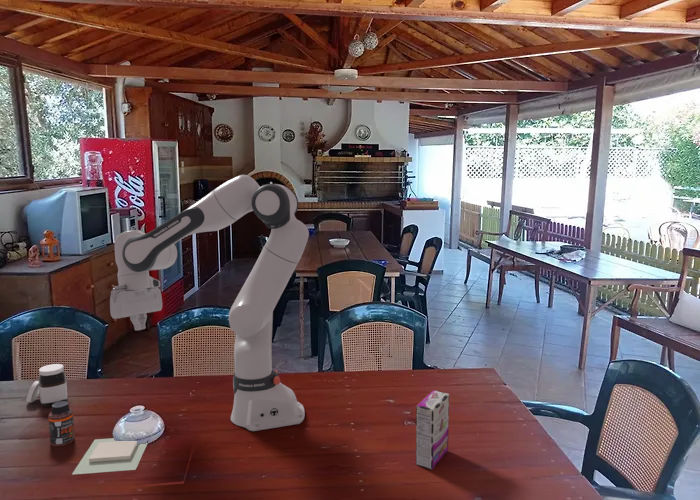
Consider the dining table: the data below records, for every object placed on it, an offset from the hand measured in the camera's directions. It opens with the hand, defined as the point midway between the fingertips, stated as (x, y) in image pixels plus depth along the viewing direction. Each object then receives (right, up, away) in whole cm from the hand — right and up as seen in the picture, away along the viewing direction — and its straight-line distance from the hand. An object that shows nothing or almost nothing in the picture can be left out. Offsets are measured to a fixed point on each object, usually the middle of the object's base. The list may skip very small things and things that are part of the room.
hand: (140, 329), depth 155 cm
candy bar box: (+85, -31, -19) cm, 92 cm away
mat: (+1, -30, -19) cm, 36 cm away
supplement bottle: (-16, -30, -13) cm, 36 cm away
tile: (0, -29, -15) cm, 32 cm away
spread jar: (-35, -26, +13) cm, 46 cm away
